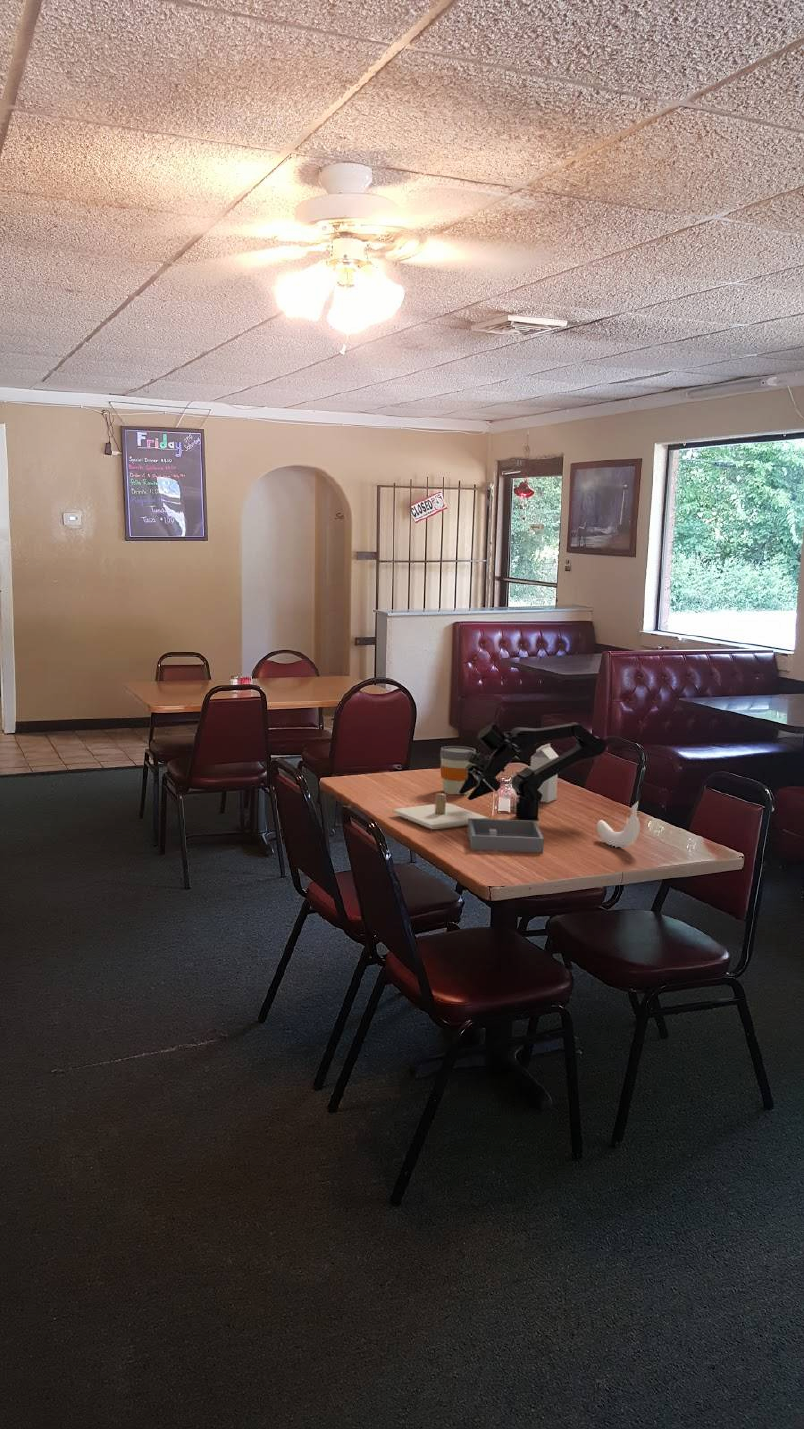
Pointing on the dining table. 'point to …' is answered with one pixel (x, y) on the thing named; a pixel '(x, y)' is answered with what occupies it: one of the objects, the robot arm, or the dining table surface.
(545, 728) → the robot arm
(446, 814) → the tub lid
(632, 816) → the white shrimp
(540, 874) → the dining table surface
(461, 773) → the reusable coffee cup
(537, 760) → the milk carton
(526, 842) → the tray
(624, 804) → the dining table surface
